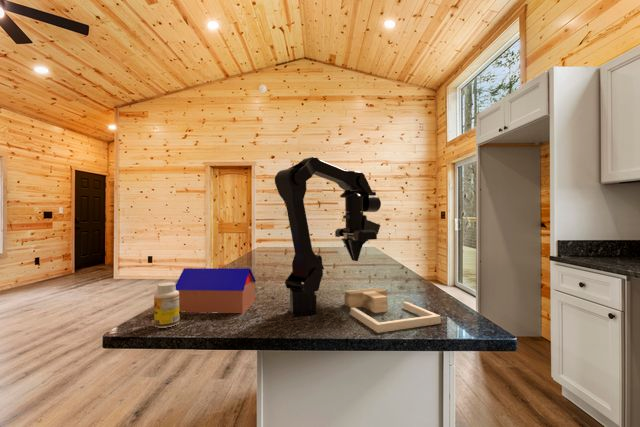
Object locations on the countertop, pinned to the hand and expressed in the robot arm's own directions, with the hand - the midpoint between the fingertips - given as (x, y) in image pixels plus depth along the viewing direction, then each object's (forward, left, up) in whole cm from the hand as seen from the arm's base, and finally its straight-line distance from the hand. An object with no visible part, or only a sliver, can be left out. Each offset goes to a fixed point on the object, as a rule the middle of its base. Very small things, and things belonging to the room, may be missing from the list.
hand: (354, 260), depth 102 cm
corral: (0, -22, -12) cm, 25 cm away
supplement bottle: (-54, -6, -12) cm, 56 cm away
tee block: (0, -11, -12) cm, 16 cm away
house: (-42, +6, -12) cm, 44 cm away
